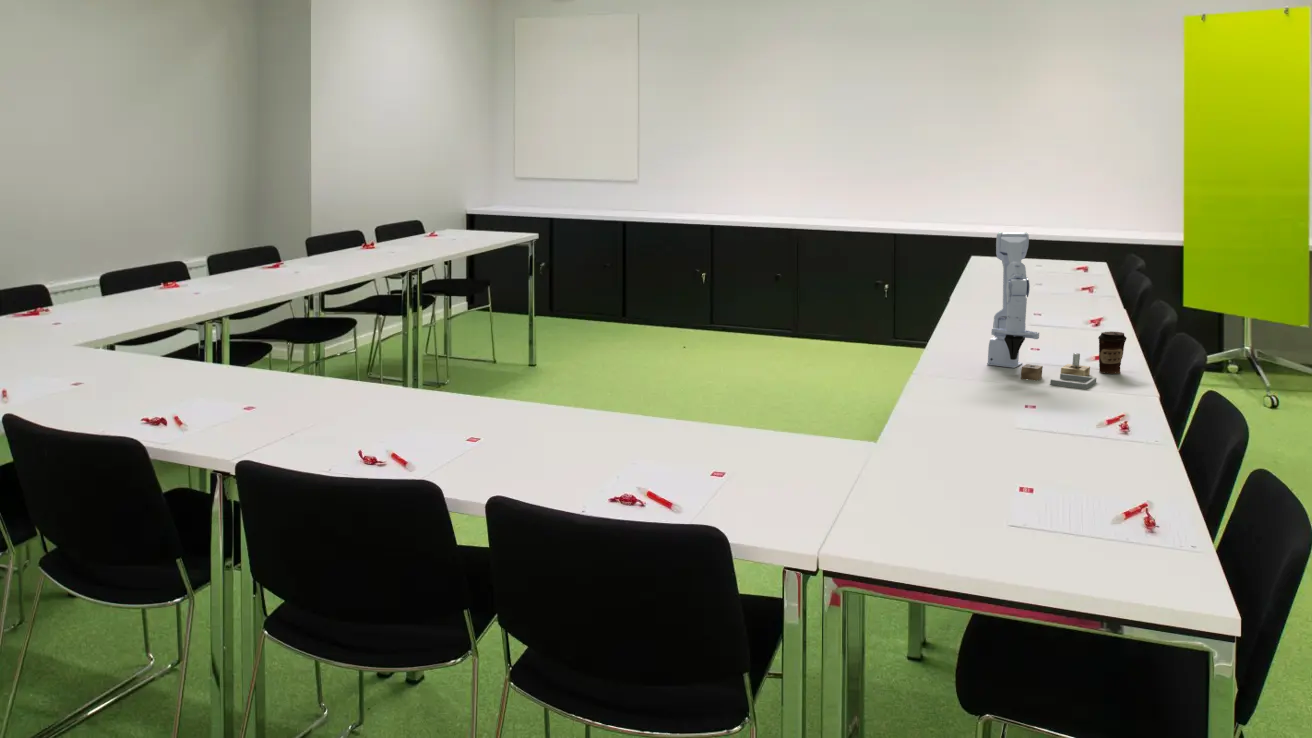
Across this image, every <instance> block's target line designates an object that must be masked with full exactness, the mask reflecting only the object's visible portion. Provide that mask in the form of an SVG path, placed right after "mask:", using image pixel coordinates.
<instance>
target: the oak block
mask: <svg viewBox="0 0 1312 738" xmlns="http://www.w3.org/2000/svg"><path fill="white" fill-rule="evenodd" d="M1072 364H1073V363H1072ZM1072 364H1071V363H1067V364H1065V365H1063V366H1061V368H1060V374H1070V375H1078V376H1086V377H1089V374H1091V372H1090V371H1091V366H1088V365H1081V364H1079V369H1077V368H1072Z"/></svg>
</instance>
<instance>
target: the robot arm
mask: <svg viewBox="0 0 1312 738" xmlns="http://www.w3.org/2000/svg"><path fill="white" fill-rule="evenodd" d="M1029 236H1030V235H1029V233H1028V232H1027V231H1026V232H1006V231H1005V232H1003V231H1002V232H1001V231H999V232H998V233H997V234H996V241H995V242H996V243H995V247H996V248H995V250H996V251H995V254H996V259H998V260H999V261H1001V264H1002V268H1003V269H1002V270H1003V272H1002V308H1001V310H999V311H997V312H996V313H995V314H994V316H993V325H992V328H991V336H994V337H991V338H990V340H989V343H988V350H987V352H988V353H987V363H986V365H988V366H995V367H996V366H998V367H1005V368H1012V369H1014V368H1017V367H1020V366H1021V365H1022V364H1023V362H1021V361H1019V356H1020V349H1021V347H1022V345H1023V343H1024V342H1025V340H1026V339H1034V340H1038V339H1040V332H1038V331H1032V330H1031V331H1030V330H1027V329H1026V319H1027V318H1026V317H1027V304H1028V303H1027V300H1028V299H1027V298H1028V297H1029V294H1030V290H1031V289H1030V287H1031V286H1030V279H1029V277H1028V276H1027V268H1026V264H1024V263H1023V262H1022V260H1024V259H1026V256H1027V252H1028V249H1029V245H1030V243H1029V242H1030V237H1029Z"/></svg>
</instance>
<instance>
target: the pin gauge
mask: <svg viewBox="0 0 1312 738" xmlns="http://www.w3.org/2000/svg"><path fill="white" fill-rule="evenodd" d="M1080 357H1081V354H1080V352H1079V353H1077V352H1075V353H1074V352H1073V355H1072V368H1077V369H1079V365H1080V359H1081V358H1080Z"/></svg>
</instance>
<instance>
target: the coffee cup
mask: <svg viewBox="0 0 1312 738" xmlns="http://www.w3.org/2000/svg"><path fill="white" fill-rule="evenodd" d="M1097 339H1098V367H1099V369H1098V370H1099V373H1102V374H1109V375H1110V374H1111V375H1113V374H1114V375H1115V374H1116V375H1117V374H1121V365H1122V359H1123V357H1124V350H1125V344H1126V341H1127V337H1126V336H1125V333H1124V332H1122V331H1121V332H1119V331H1105V332H1101V333H1100V335H1099V336H1098V338H1097Z"/></svg>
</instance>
